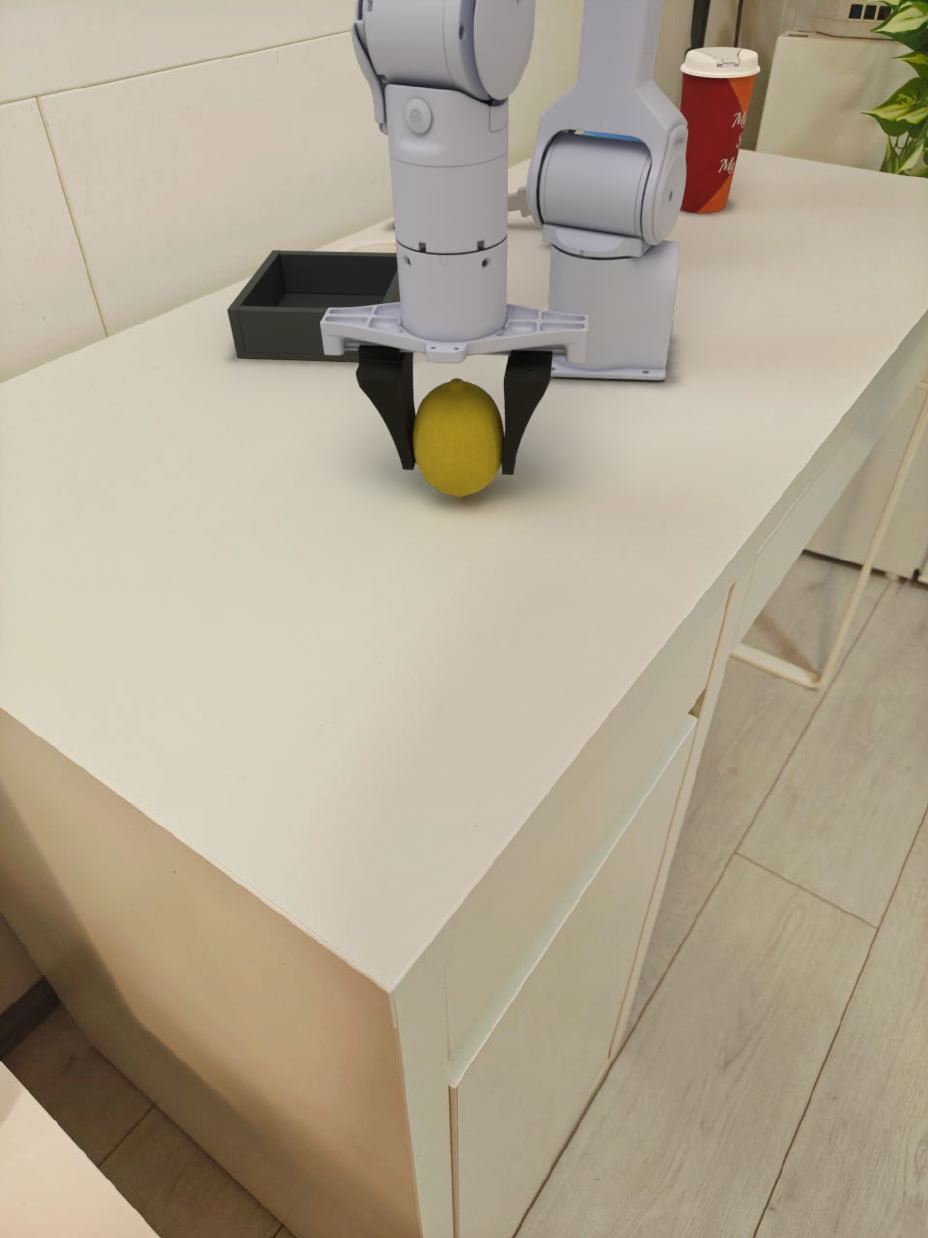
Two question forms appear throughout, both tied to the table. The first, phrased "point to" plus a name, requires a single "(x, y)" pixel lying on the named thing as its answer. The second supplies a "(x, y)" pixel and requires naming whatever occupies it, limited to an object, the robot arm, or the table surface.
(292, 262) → the dark gray open box
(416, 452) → the lemon
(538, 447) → the table surface
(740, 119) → the paper cup
